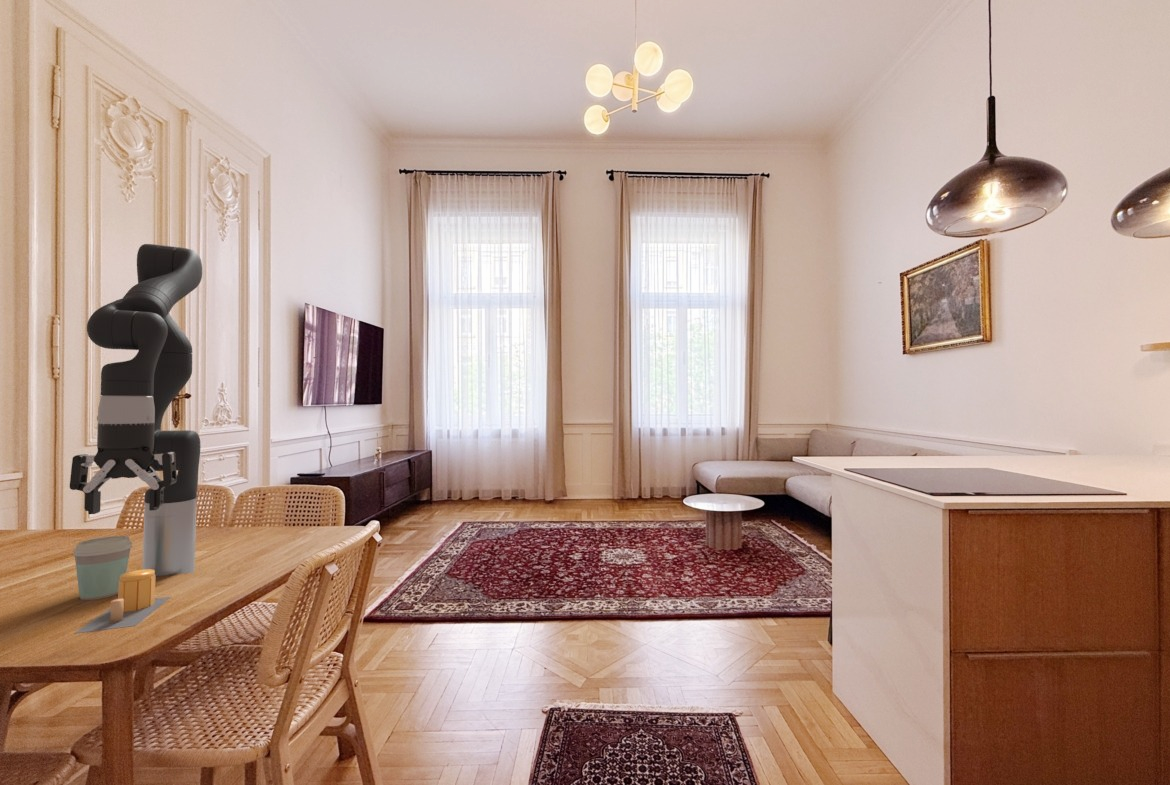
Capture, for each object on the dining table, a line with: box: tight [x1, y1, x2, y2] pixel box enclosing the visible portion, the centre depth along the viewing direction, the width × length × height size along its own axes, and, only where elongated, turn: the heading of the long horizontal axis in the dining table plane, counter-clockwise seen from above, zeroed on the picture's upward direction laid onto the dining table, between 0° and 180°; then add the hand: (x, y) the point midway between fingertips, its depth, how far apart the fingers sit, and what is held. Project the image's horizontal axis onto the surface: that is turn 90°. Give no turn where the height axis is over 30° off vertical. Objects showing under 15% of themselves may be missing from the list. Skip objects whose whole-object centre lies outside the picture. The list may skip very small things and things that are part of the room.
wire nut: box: [117, 569, 157, 612], centre depth 92 cm, size 5×5×6 cm
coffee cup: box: [72, 535, 133, 601], centre depth 98 cm, size 9×8×12 cm
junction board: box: [74, 596, 171, 634], centre depth 88 cm, size 14×8×5 cm, turn 21°
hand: (124, 511), depth 89 cm, fingers open, 8 cm apart
